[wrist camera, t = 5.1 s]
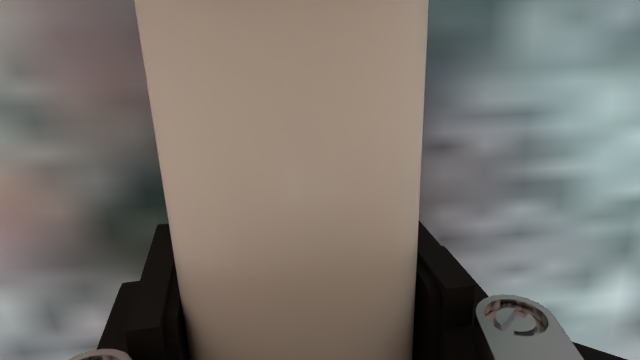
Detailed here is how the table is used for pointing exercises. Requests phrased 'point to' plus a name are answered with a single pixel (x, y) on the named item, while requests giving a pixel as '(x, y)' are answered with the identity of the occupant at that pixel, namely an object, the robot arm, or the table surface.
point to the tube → (290, 171)
